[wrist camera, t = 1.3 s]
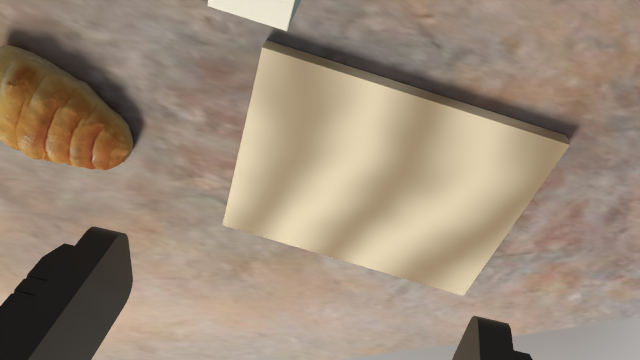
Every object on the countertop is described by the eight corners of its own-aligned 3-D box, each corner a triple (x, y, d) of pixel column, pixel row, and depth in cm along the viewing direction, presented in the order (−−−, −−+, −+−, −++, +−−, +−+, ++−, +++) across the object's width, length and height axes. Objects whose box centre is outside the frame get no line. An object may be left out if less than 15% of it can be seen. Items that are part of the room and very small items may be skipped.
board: (226, 215, 39) (222, 225, 38) (266, 39, 30) (262, 47, 29) (462, 285, 40) (463, 295, 39) (566, 135, 31) (570, 144, 30)
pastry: (152, 104, 34) (126, 138, 31) (125, 175, 38) (100, 211, 35) (4, 31, 32) (-38, 59, 29) (-8, 113, 36) (-45, 145, 33)
